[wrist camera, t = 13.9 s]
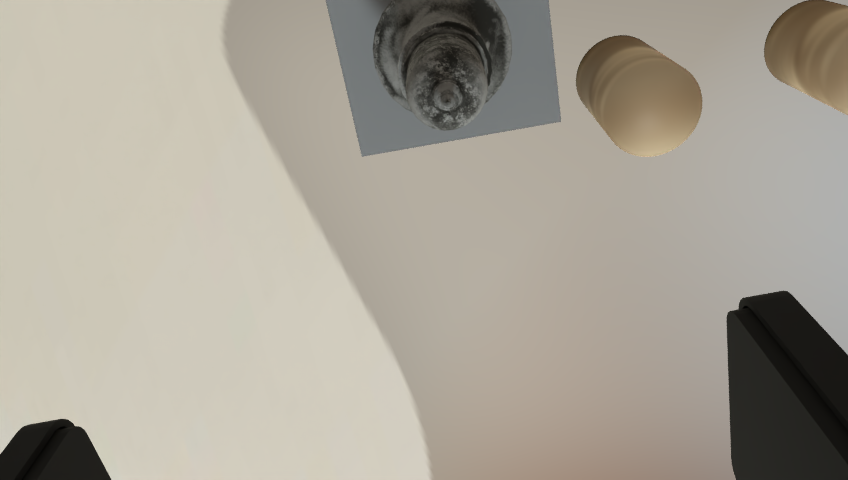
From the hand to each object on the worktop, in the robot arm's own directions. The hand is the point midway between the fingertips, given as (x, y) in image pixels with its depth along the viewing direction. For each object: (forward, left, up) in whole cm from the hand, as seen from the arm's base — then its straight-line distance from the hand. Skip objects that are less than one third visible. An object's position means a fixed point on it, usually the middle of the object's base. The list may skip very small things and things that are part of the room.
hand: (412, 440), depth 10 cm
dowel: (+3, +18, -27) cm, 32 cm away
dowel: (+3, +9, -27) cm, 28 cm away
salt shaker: (-1, +1, -26) cm, 26 cm away
